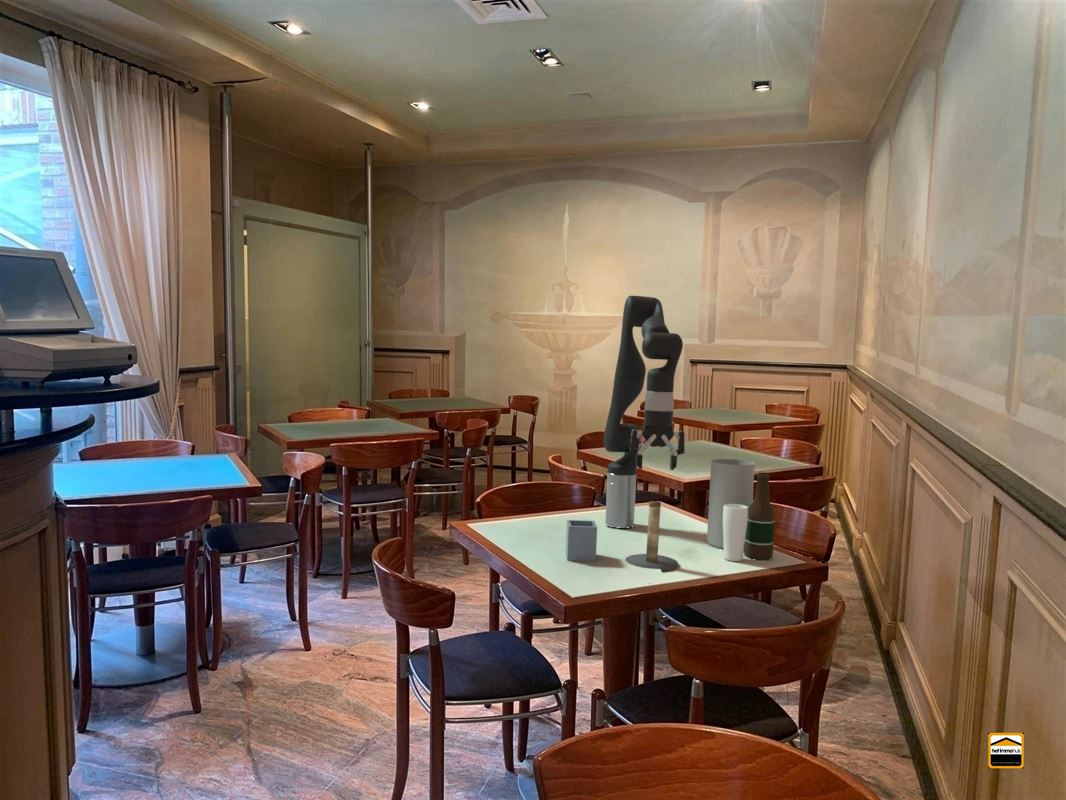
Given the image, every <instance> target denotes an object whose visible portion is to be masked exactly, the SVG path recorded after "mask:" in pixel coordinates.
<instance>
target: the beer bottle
mask: <svg viewBox="0 0 1066 800" xmlns="http://www.w3.org/2000/svg"><path fill="white" fill-rule="evenodd" d="M755 477H756V483H755V490H754V491H755V493H754V496H753V502H752V504H751V505H750V506H749V508H748V524H747V531H746V538H745V547H744V552H743V556H744V557H746V558H747V557H748V558H747V559H749V558H750V559H749V560H753V559H755V560H754V561H758V560H768V561H770V560H771V558H773V554H774V543H775V542H774V541H775V539H774V538H775V524H776V514H775V509H774V507H773V505H772V504H771V502H770V478H771V475H770V474H769V473H768V472H757V473H756V476H755ZM769 559H770V560H769Z"/></svg>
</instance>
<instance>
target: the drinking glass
mask: <svg viewBox="0 0 1066 800" xmlns="http://www.w3.org/2000/svg"><path fill="white" fill-rule="evenodd" d="M747 524H748V507H747V506H744V505H739V504H725V505H724V508H723V547H724V549H723V558H724V560H725V561H728V560H729V562H735V561H737V562H741V561H743V559H744V545H745V538H746V531H747Z"/></svg>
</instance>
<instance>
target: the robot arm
mask: <svg viewBox="0 0 1066 800" xmlns="http://www.w3.org/2000/svg"><path fill="white" fill-rule="evenodd" d="M664 315H665V314H664V309H663V305H662V302H661V300H659V298H657V297H651V296H644V295H643V296H642V295H629V296H627V297H626V300H625V303H624V307H623V313H622V324H621V332H620V333H621V336H620V343H619V350H618V355H617V360H616V367H615V373H614V379H613V386H612V387H613V388H612V396H611V402H610V407H609V412H608V416H607V421H606V423H605V428H604V433H603V446H604V449H605V450H606V451H607V452H609V453H624V454H623V455H622V456H621V457H620V458H618V459H617V460H614V461H612V462H609V463H608V465H607V473H606V474H607V476H606V477H607V479H606V496H605V497H606V499H605V501H606V503H605V520H604V521H605V522H604V523H606V524H607V525H609V526H612V527H620V528H627V527H632V526H634V527H635V508H636V507H635V505H636V490H637V489H636V485H637V468H638V469H639V470H643V459H644V457H643V453H644V452H645V450H647V449H648V448H649V447H653V448H654V447H655V448H656V447H659V448H664V447H666V448H667V450H668V451H669V452H670V457H669V458H670V459H669V460H670V461H669V469H670V470H671V471H674V470H675V469H676V468H677V464H678V456H679V455H680V456H681V455H684V454H685V432H684V431H682V430H678V431H674V430H673V424H674V423H673V422H674V408H675V404H674V403H675V402H674V401H675V399H674V397H675V396H674V386H675V374H676V369H677V367H678V363H679V361H680V357H681V355H682V351H683V347H684V342H683V339H682V336H681V335H680V334H677V333H672V332H670V330H669V328H668V327H667V325H666V323H665V316H664ZM634 328H640V329H641V330H640V331H641V335H642V338H643V340H642V342H641V343H642V344H641V352H642V354H643V356H644V357H645V358H646V359H650V360H659V361H660V360H661V361H662V360H664V361H666V363H665V364H664V365H663V366H662V367H661V366H660V367H657V368H652V369H649V370H648V371H647V375H646V370H647V368H646V364H645V361H644V359H643V357H642V355H641V353H640V352H639V349H638V346H637V345H636V341H635V339H634V334H633V333H634ZM645 377H646V393H645V398H644V411H643V413H644V414H643V415H644V416H643V417H644V418H643V428H642V430H641V429H639V427H638V425H637V424H635V423H622V418H623V417H624V414H625V413H626V411H627V410H628V408H630V406H631V405H632V404H633V403H634V402H635V400H636V399H638V397H639V395H640V394H641V393H642V391H643V389H644V383H645ZM640 435H641V436H642V437H643V438H644V440H643V441H642V442H641V443H640V439H641V438H640V437H641V436H640ZM673 437H675V440H677V449H675V447H674V446H673V444H672V442H671V440H672V439H673ZM632 528H633V527H632Z"/></svg>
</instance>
